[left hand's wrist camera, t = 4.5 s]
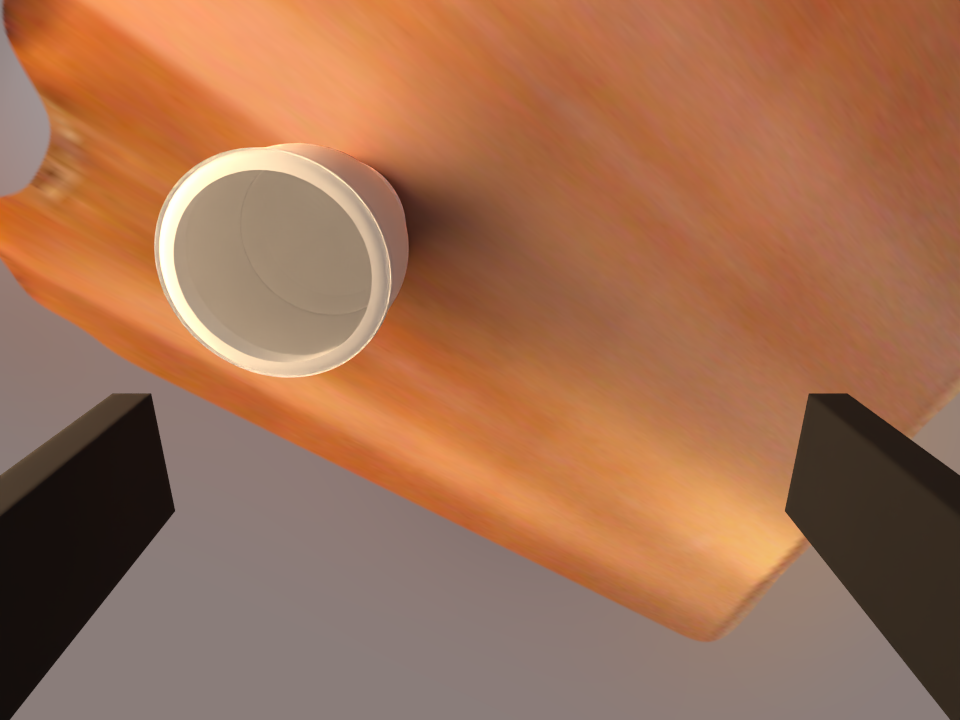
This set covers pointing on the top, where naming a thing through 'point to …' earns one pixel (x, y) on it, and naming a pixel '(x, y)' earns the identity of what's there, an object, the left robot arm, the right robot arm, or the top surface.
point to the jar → (282, 256)
